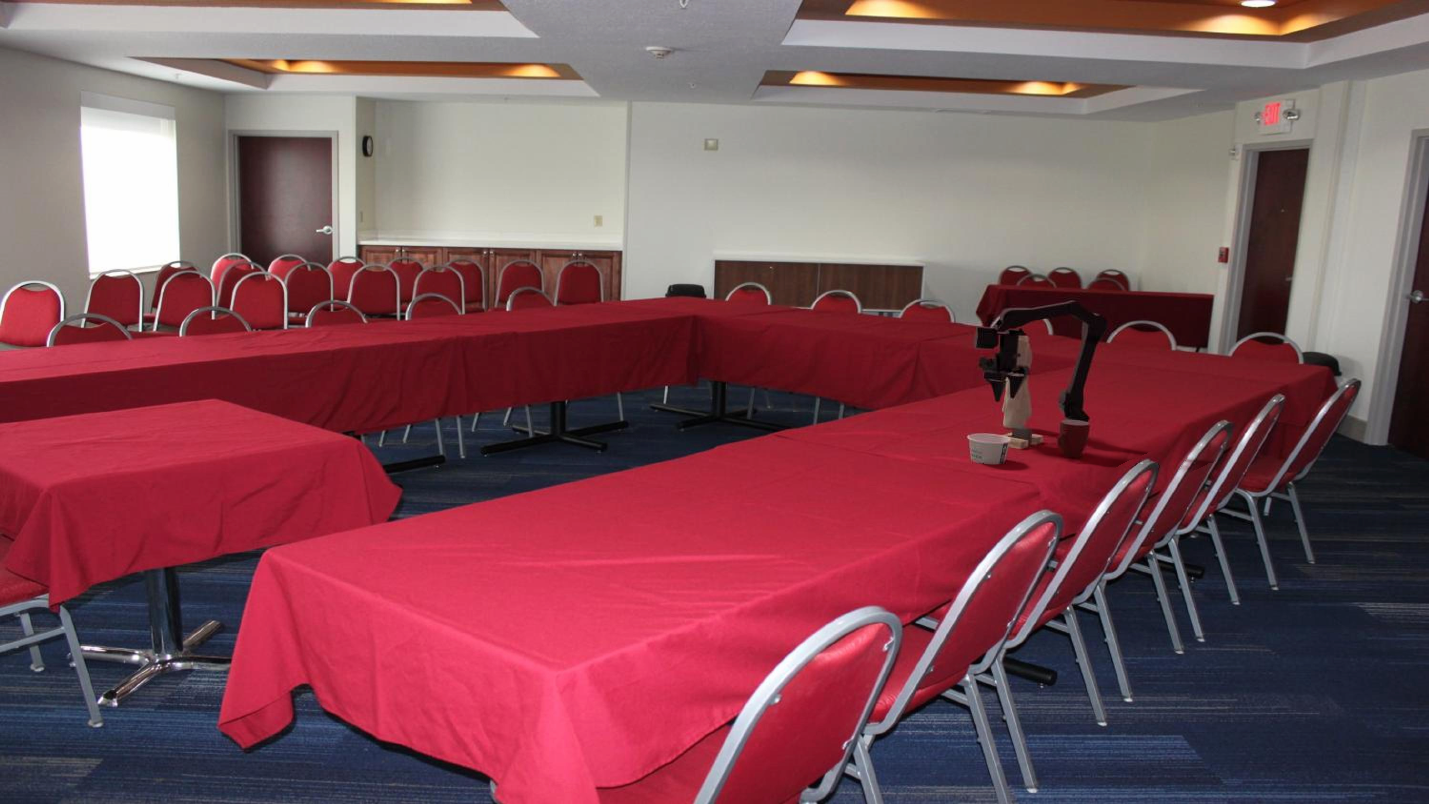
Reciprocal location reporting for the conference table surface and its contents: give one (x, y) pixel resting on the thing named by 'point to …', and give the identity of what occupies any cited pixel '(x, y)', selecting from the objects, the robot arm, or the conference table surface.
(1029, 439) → the grey block
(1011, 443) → the notch board
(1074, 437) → the mug
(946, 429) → the conference table surface
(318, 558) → the conference table surface
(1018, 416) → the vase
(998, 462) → the food container
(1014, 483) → the conference table surface
